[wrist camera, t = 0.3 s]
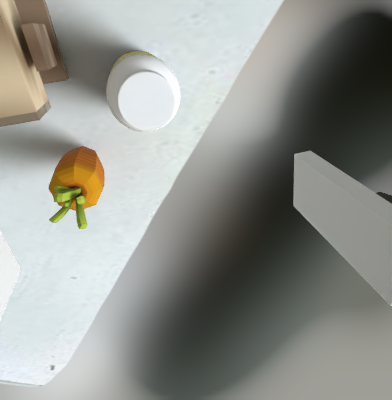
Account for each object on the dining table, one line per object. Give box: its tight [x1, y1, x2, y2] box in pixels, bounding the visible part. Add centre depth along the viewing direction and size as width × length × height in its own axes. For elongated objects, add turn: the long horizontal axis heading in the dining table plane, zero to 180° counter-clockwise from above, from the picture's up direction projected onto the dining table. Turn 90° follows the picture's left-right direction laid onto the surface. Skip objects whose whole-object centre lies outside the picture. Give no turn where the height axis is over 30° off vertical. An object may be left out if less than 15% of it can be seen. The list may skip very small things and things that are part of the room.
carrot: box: [49, 146, 104, 229], centre depth 33 cm, size 5×5×15 cm
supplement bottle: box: [106, 51, 180, 132], centre depth 31 cm, size 7×7×13 cm
